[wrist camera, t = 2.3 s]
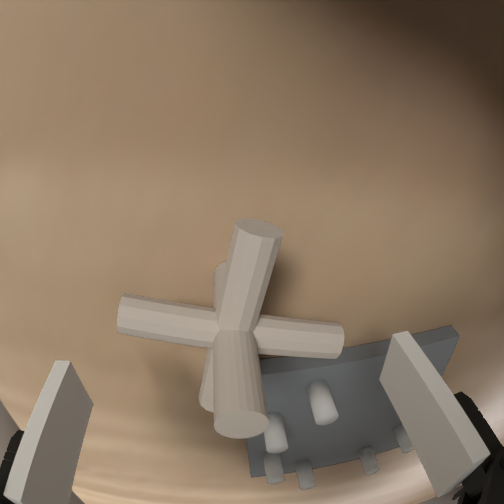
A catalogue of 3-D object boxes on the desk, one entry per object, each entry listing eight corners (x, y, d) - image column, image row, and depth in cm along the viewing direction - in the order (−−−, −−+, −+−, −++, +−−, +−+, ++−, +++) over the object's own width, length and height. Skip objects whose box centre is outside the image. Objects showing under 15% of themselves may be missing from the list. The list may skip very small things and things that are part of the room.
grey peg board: (237, 361, 21) (242, 412, 17) (450, 325, 22) (478, 358, 18) (249, 466, 29) (253, 500, 25) (397, 436, 30) (410, 464, 26)
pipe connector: (140, 328, 19) (107, 463, 10) (153, 174, 15) (71, 271, 6) (287, 347, 21) (321, 476, 12) (337, 210, 17) (439, 320, 8)
